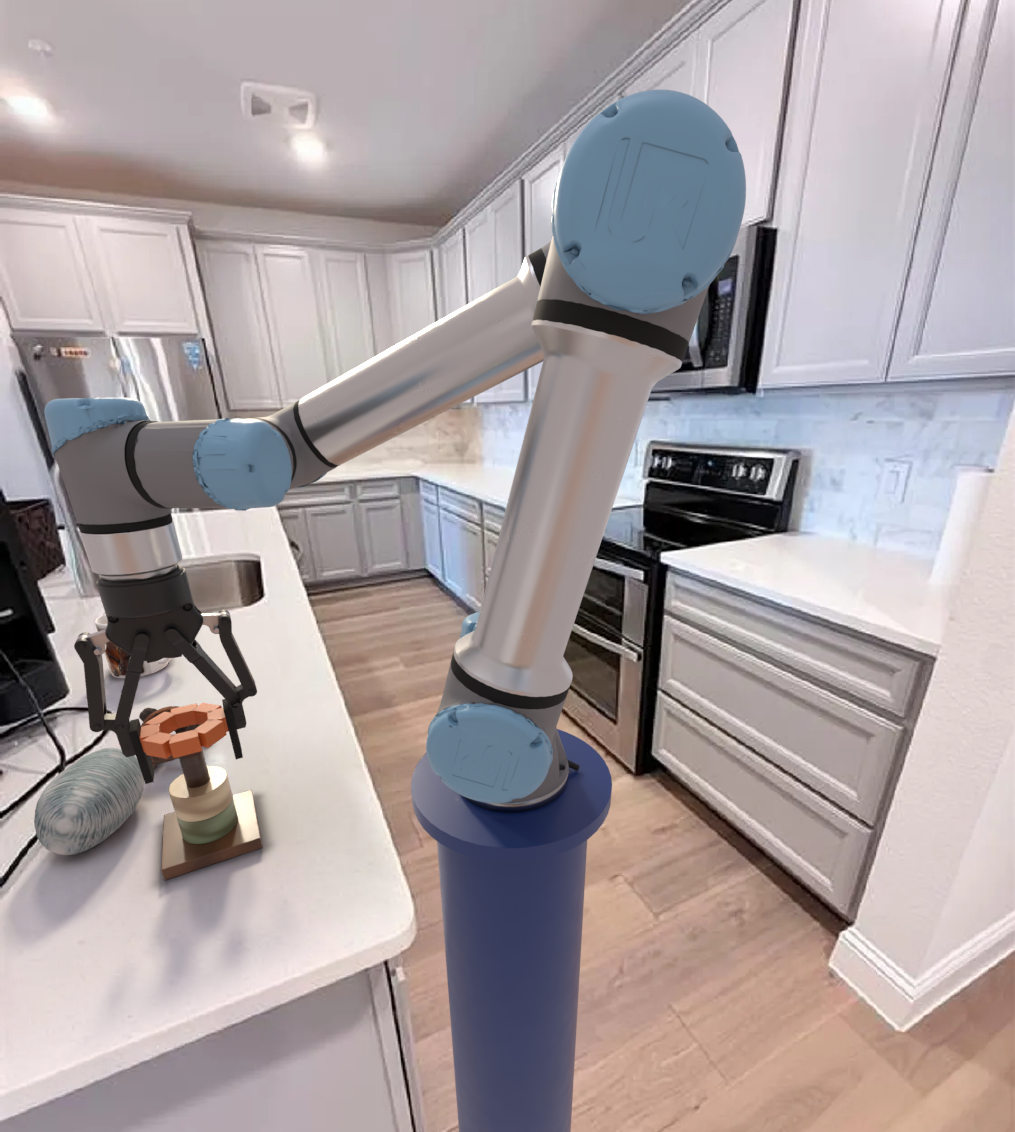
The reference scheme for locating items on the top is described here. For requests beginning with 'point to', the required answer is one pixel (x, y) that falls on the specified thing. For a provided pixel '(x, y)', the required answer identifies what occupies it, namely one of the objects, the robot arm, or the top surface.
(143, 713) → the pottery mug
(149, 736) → the terracotta ring
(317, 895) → the top surface
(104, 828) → the streaked grey ellipsoid
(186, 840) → the stacking post
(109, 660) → the mug
